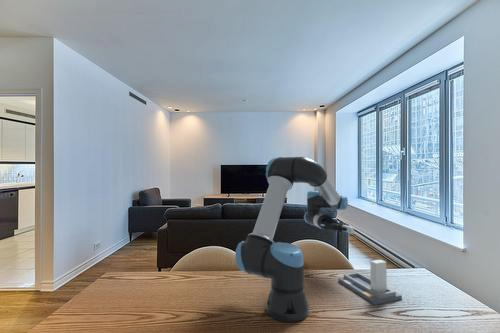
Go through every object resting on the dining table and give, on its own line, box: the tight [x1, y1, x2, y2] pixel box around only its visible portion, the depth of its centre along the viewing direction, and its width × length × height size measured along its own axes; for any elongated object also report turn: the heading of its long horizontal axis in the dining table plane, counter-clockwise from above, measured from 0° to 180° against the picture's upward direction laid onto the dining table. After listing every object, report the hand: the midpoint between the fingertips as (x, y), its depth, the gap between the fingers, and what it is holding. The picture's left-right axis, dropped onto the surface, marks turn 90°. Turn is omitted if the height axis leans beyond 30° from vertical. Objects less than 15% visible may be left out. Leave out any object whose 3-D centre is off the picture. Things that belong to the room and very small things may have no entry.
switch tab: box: [370, 259, 388, 293], centre depth 109 cm, size 3×5×12 cm, turn 108°
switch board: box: [338, 271, 403, 306], centre depth 115 cm, size 22×13×3 cm, turn 18°
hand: (352, 230), depth 124 cm, fingers closed
